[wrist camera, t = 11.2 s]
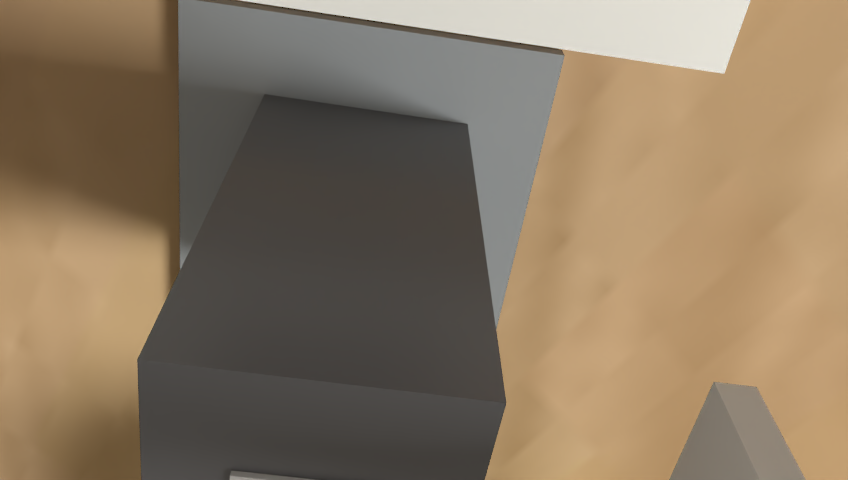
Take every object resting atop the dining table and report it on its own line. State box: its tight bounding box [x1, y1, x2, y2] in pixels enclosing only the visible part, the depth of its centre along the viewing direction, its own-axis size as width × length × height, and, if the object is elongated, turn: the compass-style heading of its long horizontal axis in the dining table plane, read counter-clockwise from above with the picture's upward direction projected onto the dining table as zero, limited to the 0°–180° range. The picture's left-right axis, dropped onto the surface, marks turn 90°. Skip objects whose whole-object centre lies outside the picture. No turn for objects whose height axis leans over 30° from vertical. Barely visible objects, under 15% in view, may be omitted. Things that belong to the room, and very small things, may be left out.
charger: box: [137, 94, 506, 480], centre depth 16 cm, size 5×5×10 cm
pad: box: [178, 0, 564, 328], centre depth 21 cm, size 9×9×1 cm
